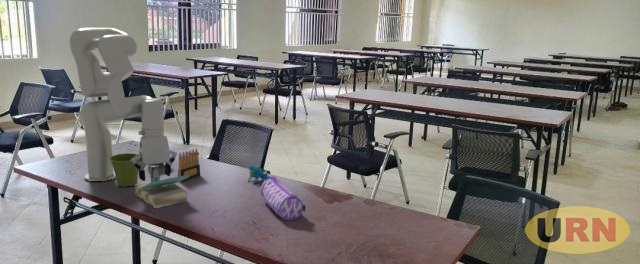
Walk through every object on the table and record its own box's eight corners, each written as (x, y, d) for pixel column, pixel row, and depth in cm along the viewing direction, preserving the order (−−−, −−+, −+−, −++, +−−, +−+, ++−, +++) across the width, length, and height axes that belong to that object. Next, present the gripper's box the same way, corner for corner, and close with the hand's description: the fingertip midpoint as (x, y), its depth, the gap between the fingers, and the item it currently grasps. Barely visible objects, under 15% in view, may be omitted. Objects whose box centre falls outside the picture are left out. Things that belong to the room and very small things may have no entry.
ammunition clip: (181, 182, 212) (180, 153, 209) (177, 181, 213) (176, 152, 210) (200, 175, 221) (199, 148, 218) (197, 175, 222) (196, 147, 219)
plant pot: (104, 187, 203) (102, 159, 201) (123, 178, 214) (121, 152, 212) (132, 190, 200) (130, 162, 198) (149, 181, 212) (147, 154, 209)
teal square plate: (141, 190, 189) (141, 187, 189) (175, 183, 198) (175, 180, 198) (153, 184, 180) (153, 181, 180) (188, 177, 188) (188, 174, 189)
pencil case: (306, 219, 177) (306, 192, 175) (280, 223, 173) (280, 196, 171) (280, 198, 196) (280, 174, 194) (257, 202, 192) (257, 177, 190)
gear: (276, 179, 212) (260, 165, 207) (268, 192, 210) (252, 178, 205) (260, 176, 221) (244, 163, 215) (253, 188, 218) (236, 175, 213)
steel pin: (150, 192, 197) (148, 166, 194) (158, 190, 199) (156, 164, 196) (153, 194, 194) (152, 168, 192) (162, 192, 196) (160, 166, 194)
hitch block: (135, 194, 197) (134, 184, 196) (165, 188, 204) (165, 178, 203) (155, 208, 183) (154, 197, 182) (187, 201, 191) (186, 190, 190)
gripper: (133, 137, 183) (136, 184, 187) (180, 131, 194) (181, 175, 198) (125, 133, 189) (128, 179, 192) (171, 127, 200) (172, 171, 203)
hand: (155, 177), depth 195 cm, fingers open, 9 cm apart
